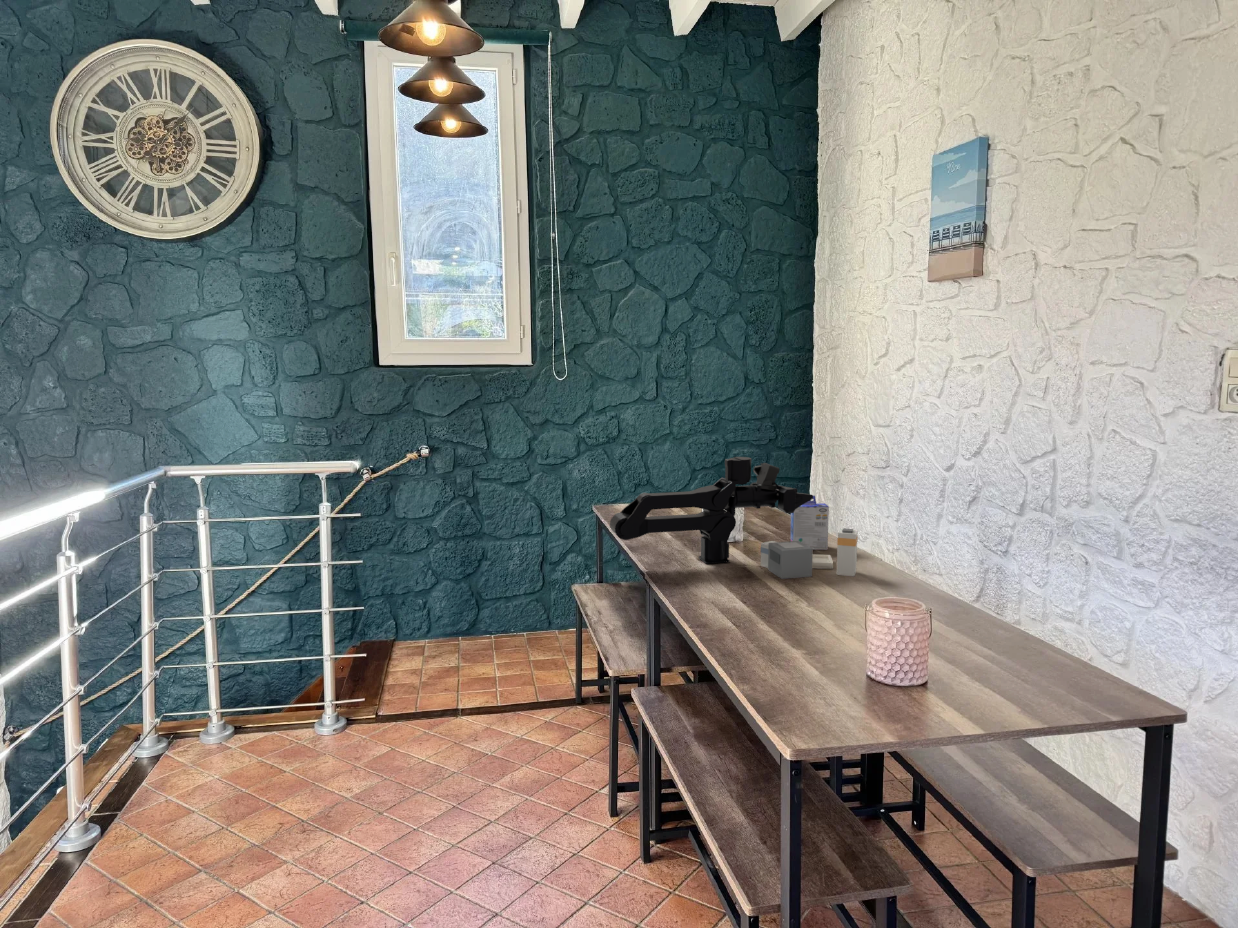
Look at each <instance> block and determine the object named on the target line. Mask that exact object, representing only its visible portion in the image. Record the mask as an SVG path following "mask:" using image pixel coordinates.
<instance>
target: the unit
mask: <svg viewBox="0 0 1238 928" xmlns="http://www.w3.org/2000/svg"><path fill="white" fill-rule="evenodd" d="M812 557H813V548H811V547H809V546H807V545H805V544H803V543H801V542H799V541H791V540H790V541H776V542H774V543H769V548H768V568H767V570H768V572H770V573H772V574H773V575H775V576H776V577H778V578H780V579H781V580H785V579H797V578H811V577H813V568H812Z"/></svg>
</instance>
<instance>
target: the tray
mask: <svg viewBox="0 0 1238 928" xmlns="http://www.w3.org/2000/svg"><path fill="white" fill-rule="evenodd" d="M812 569H822V570H823V569H826V570H828V569H829V570H834V562H833V559H832V555H831V554H813V557H812Z"/></svg>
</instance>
